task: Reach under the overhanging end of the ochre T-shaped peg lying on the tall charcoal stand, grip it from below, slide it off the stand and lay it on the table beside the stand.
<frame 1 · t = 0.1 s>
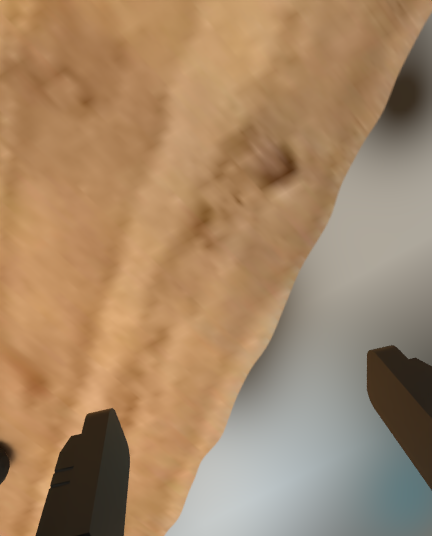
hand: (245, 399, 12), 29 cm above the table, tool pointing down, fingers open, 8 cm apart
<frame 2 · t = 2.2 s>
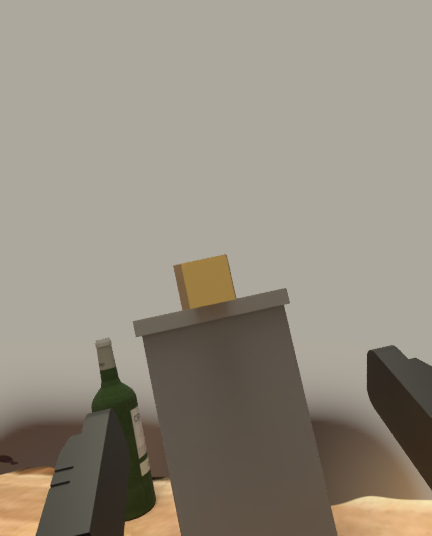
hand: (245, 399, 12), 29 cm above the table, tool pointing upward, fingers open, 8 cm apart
peg: (209, 304, 41), point 32 cm above the table, touching stand
wine bottle: (134, 509, 65), on the table
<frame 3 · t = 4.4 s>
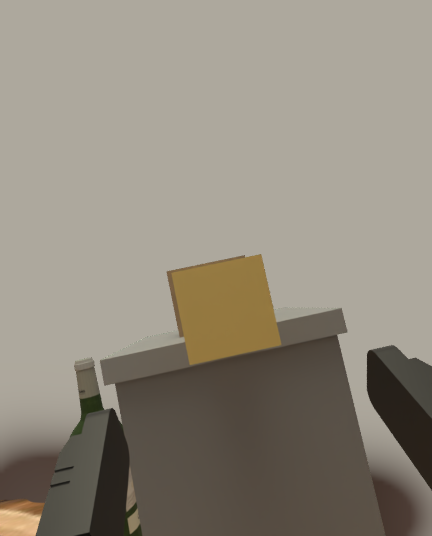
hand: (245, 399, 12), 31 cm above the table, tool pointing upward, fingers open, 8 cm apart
peg: (219, 329, 28), point 32 cm above the table, touching stand
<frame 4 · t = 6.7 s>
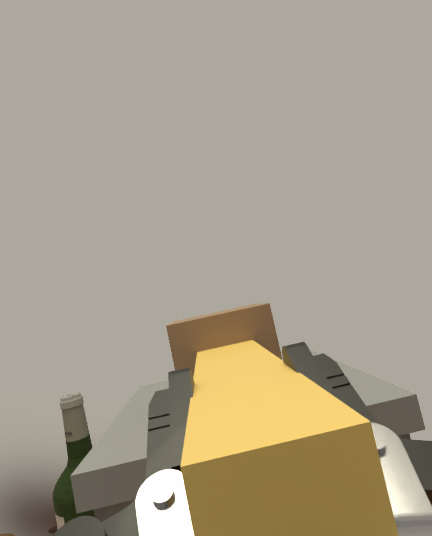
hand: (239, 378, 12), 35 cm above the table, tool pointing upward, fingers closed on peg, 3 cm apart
peg: (237, 403, 21), point 32 cm above the table, touching gripper, stand
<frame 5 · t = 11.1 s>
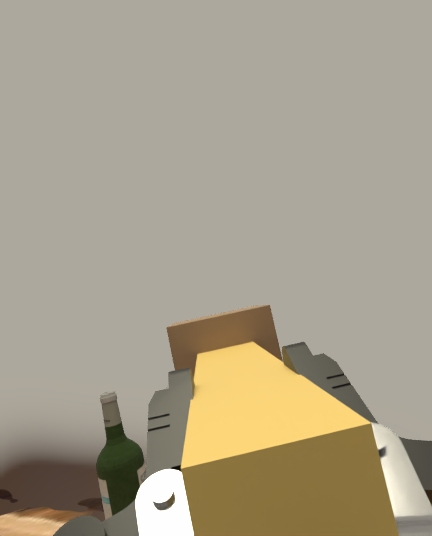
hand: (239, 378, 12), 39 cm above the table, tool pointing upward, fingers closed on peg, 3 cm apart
peg: (237, 405, 21), point 36 cm above the table, touching gripper
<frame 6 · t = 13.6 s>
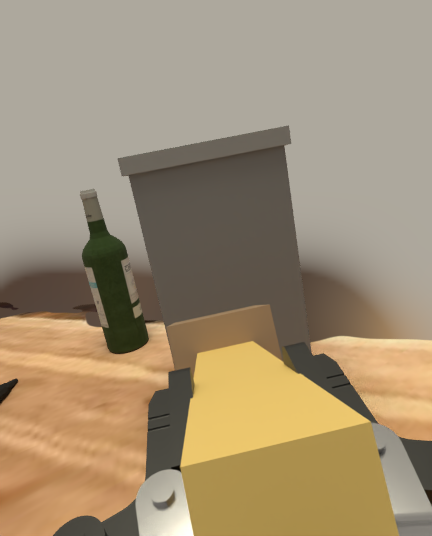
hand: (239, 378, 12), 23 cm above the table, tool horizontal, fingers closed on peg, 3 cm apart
peg: (237, 404, 21), point 17 cm above the table, tilted 21°, touching gripper
wine bottle: (129, 344, 73), on the table
stand: (248, 401, 48), on the table
when the fingers open (12 cm above the table, at t = 15.6 s): peg drops 5 cm, on the table.
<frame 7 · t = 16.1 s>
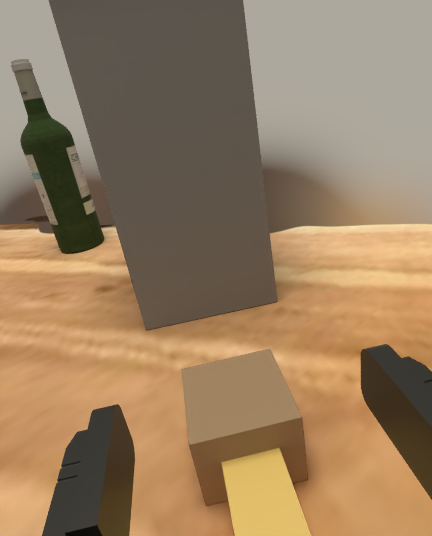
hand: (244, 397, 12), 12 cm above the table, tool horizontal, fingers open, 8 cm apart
peg: (257, 493, 21), on the table
wine bottle: (83, 245, 68), on the table
stand: (204, 282, 46), on the table
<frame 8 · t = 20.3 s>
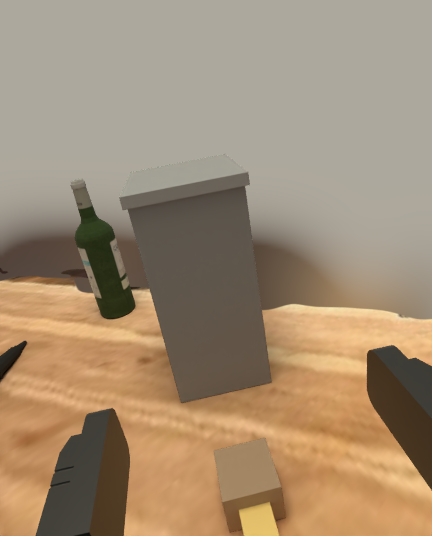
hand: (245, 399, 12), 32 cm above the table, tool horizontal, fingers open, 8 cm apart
peg: (258, 525, 39), on the table
wine bottle: (118, 310, 86), on the table
microphone: (3, 378, 70), on the table
stand: (219, 359, 64), on the table
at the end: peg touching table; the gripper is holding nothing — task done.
